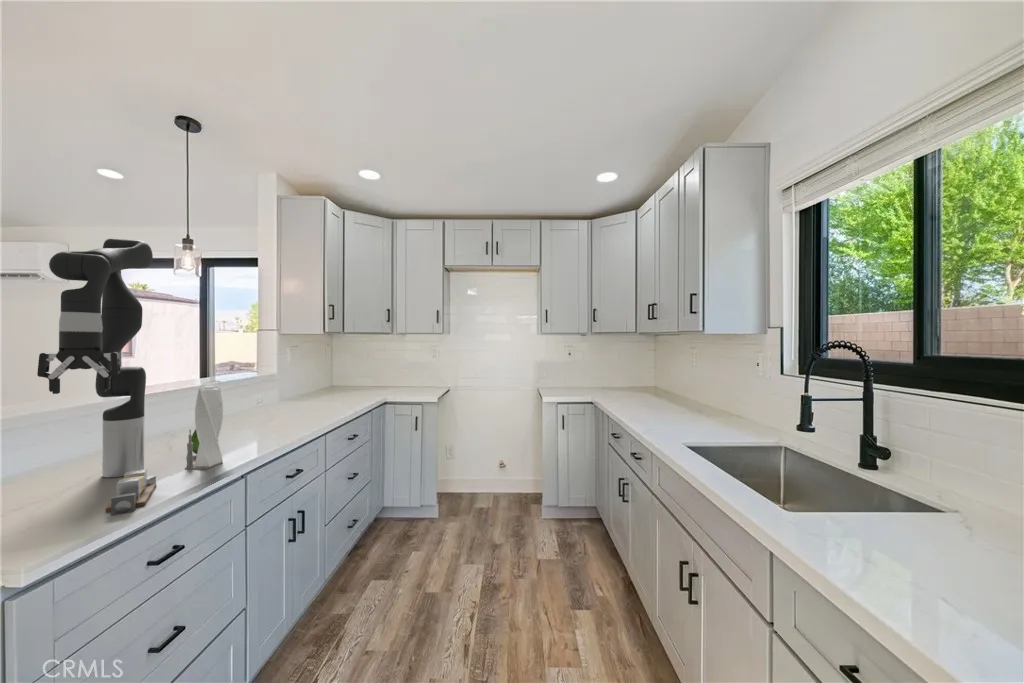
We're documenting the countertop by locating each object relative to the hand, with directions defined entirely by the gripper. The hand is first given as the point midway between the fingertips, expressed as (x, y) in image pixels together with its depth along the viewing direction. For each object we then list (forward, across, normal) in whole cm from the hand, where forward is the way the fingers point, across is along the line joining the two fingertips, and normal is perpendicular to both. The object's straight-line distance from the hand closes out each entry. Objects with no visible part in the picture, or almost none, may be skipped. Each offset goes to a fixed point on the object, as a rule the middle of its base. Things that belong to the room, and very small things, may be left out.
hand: (80, 392), depth 100 cm
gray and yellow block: (+27, +11, -6) cm, 30 cm away
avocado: (+28, +23, +33) cm, 49 cm away
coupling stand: (+28, +11, -6) cm, 31 cm away
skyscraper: (+28, +25, +17) cm, 41 cm away
